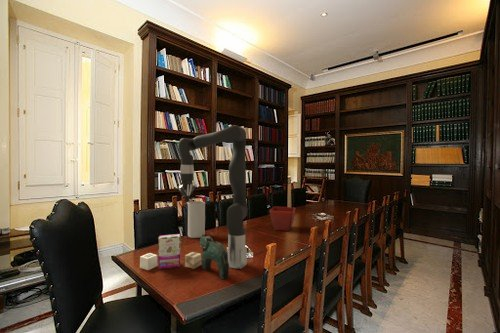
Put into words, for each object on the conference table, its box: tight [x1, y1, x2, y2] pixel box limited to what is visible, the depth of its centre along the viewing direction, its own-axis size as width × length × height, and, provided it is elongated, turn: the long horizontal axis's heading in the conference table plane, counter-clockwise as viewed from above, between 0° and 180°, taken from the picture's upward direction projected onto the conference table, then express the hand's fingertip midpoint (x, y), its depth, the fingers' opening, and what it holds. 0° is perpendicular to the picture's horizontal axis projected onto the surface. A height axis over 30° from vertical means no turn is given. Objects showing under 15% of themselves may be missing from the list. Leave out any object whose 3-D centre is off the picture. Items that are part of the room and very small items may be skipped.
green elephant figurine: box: [199, 232, 230, 280], centre depth 125 cm, size 20×6×20 cm, turn 45°
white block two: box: [139, 252, 158, 271], centre depth 131 cm, size 6×6×6 cm
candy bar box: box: [157, 233, 182, 270], centre depth 132 cm, size 11×5×16 cm, turn 106°
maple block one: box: [184, 251, 202, 269], centre depth 133 cm, size 6×6×6 cm
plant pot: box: [269, 206, 296, 232], centre depth 208 cm, size 19×19×17 cm
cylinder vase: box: [187, 200, 206, 239], centre depth 186 cm, size 12×12×25 cm
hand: (186, 202), depth 145 cm, fingers closed
